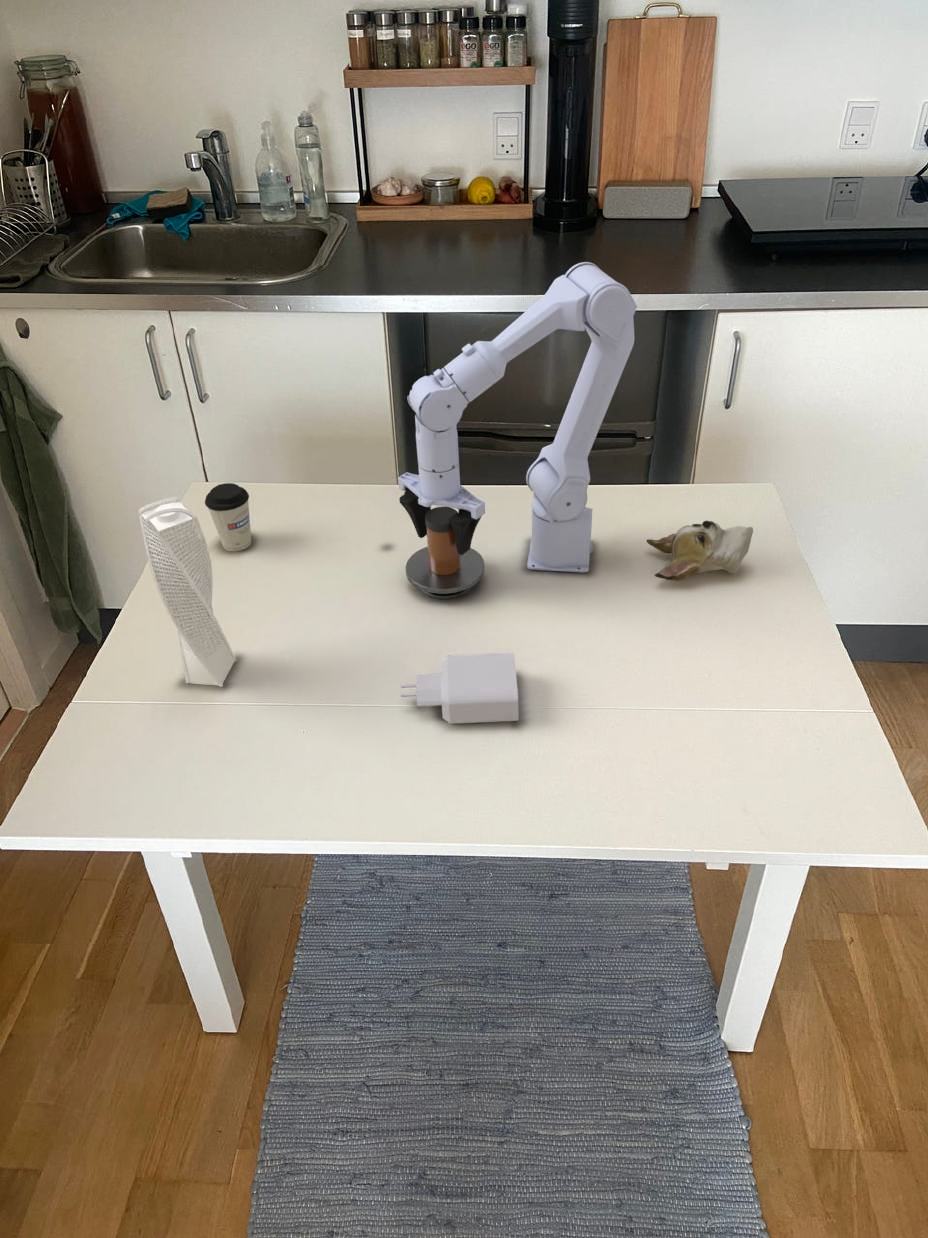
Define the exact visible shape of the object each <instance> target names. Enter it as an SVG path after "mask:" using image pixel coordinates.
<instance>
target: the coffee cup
mask: <svg viewBox="0 0 928 1238" xmlns="http://www.w3.org/2000/svg"><path fill="white" fill-rule="evenodd" d="M249 498H250V494H249V492H248V491H247V490H246V488H244V487H243V486H239V484H236V483H231V482H226V483H221V484H218V485H216V486H214V487H212V489H210V491H209V492H208V493H207V494H206V495H205V500H204V505H205V507H206V508H207V509H208V511H209V514H210V516H211V519H212V521H213V524H214V527H215V529H216V531H217V534H218V536H219V539H220V541H221V545H222V546H223V549H224V550H226V551H229V552H240V551H244V550H245V549H248V547H250V546H251V545H252V533H251V531H252V530H251V520H250V507H249Z"/></svg>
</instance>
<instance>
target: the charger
mask: <svg viewBox="0 0 928 1238" xmlns="http://www.w3.org/2000/svg"><path fill="white" fill-rule="evenodd" d="M517 679H518V678H517V670H516V660H515V653H514V652H499V653H497V652H496V653H477V654H473V653H472V654H453V655H447V656H446V657H444V658H443V659H442V660H441V661H440V673H432V674H417V675H416V683H403V684H401V685H400V688H401V689H407V688H408V689H410V688H411V689H412V688H416V692H406V693H405V692H403V693H402V692H401V693H400V697H401V698H410V697H411V698H413V697H416V707H433V706H434V707H436V706H441V714H442V715H441V716H442V719H443V720H445V721H446V722H447V723H449V724H450V725H452V724H472V723H495V722H496V723H498V722H519V690H518V680H517Z"/></svg>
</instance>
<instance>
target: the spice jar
mask: <svg viewBox="0 0 928 1238" xmlns="http://www.w3.org/2000/svg"><path fill="white" fill-rule="evenodd" d="M456 513H459V511H457V510H456V508H451V507H444V506H437V507H433V508H431V510H429V511H428V512H427V513H426V515H425V522H426V531H427V535H426V540H427V541H426V542H427V543H426V544H427V547H428V557H429V568H430V570H431V571H432V572H434V573H436V574H439V575H449V574H453V573H455V572H457V571H458V570H459V569H460V567H461V557H460V554H458V552H457V548H456V538H455V534H454V530H453V528H452V525H451V524H450V522H449V518H451V517H452V516H454V515H455V514H456Z"/></svg>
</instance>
